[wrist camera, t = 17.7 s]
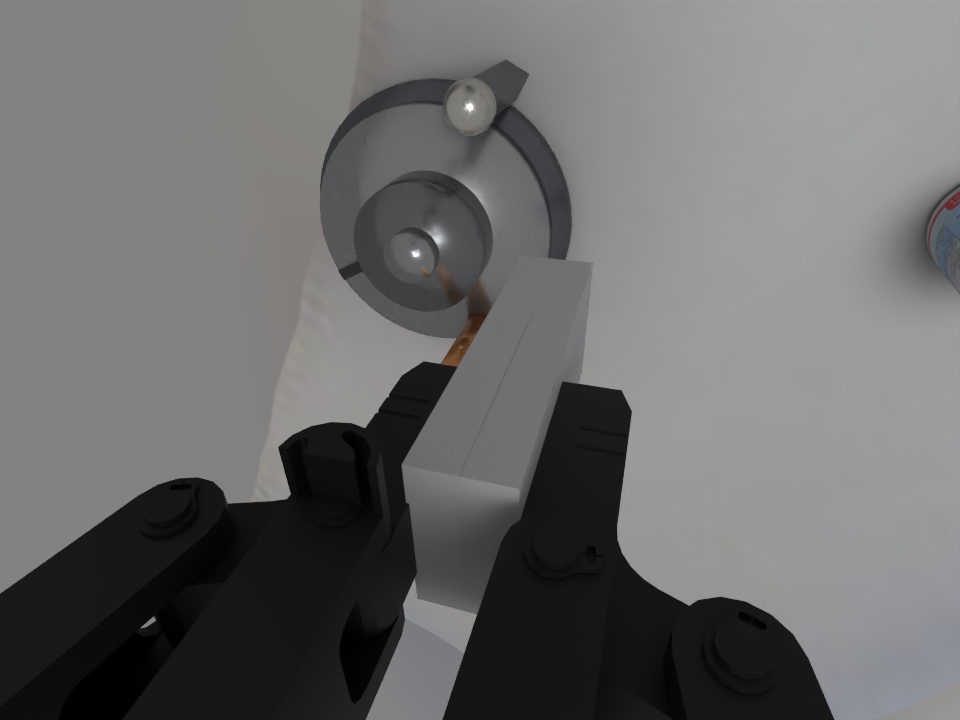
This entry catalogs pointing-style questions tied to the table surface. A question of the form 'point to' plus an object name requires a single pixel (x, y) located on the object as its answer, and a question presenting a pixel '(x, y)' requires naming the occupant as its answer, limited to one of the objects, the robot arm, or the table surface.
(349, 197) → the platter
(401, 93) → the turntable base
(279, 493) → the table surface
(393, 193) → the cover
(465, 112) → the post
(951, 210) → the pill bottle
